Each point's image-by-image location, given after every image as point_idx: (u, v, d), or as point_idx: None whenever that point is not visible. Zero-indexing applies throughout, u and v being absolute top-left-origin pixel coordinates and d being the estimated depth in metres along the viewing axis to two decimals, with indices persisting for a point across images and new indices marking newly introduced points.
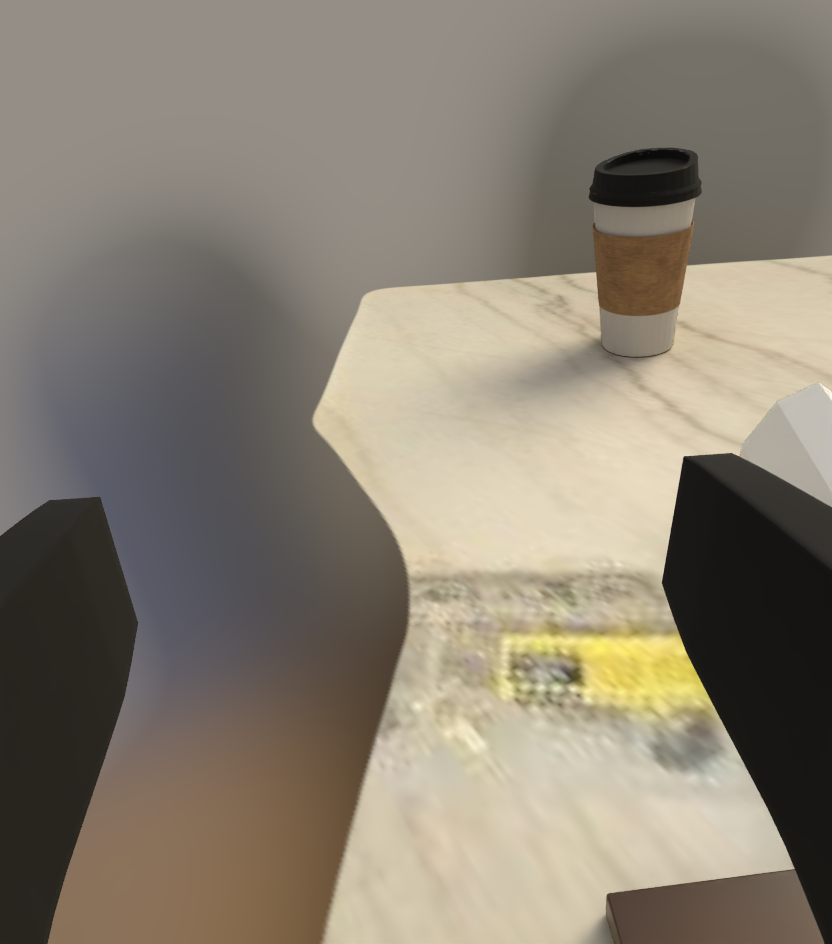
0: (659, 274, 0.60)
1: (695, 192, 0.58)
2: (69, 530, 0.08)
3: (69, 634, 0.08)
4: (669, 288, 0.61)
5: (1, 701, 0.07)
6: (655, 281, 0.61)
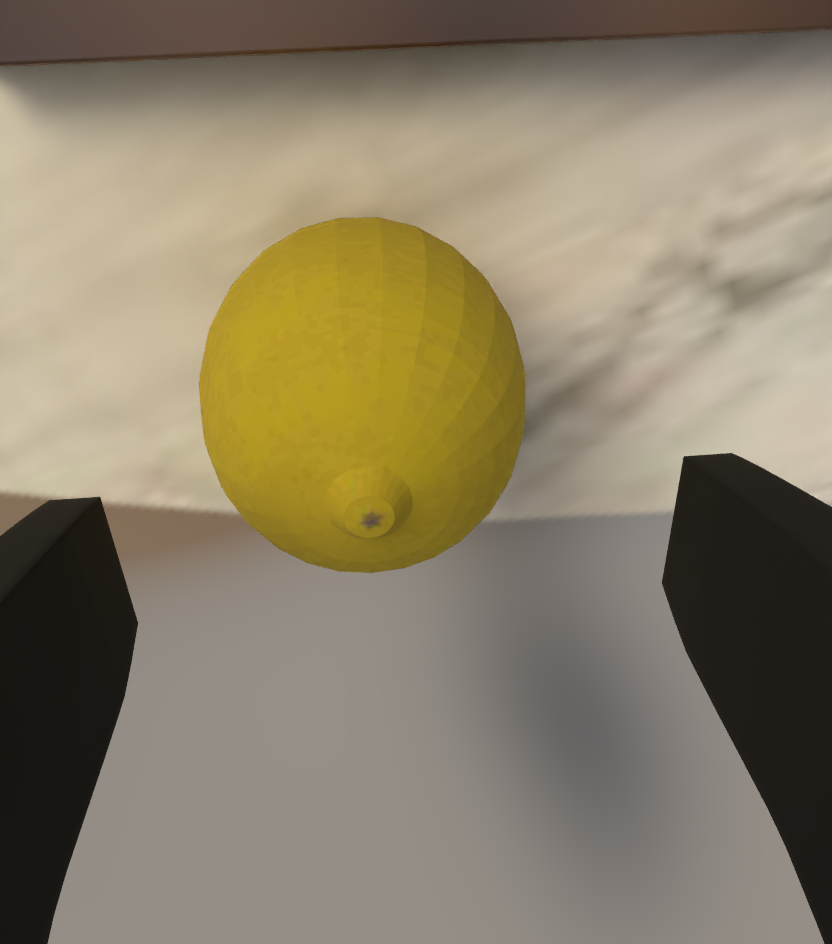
0: None
1: None
2: (69, 530, 0.08)
3: (69, 634, 0.08)
4: None
5: (1, 701, 0.07)
6: None
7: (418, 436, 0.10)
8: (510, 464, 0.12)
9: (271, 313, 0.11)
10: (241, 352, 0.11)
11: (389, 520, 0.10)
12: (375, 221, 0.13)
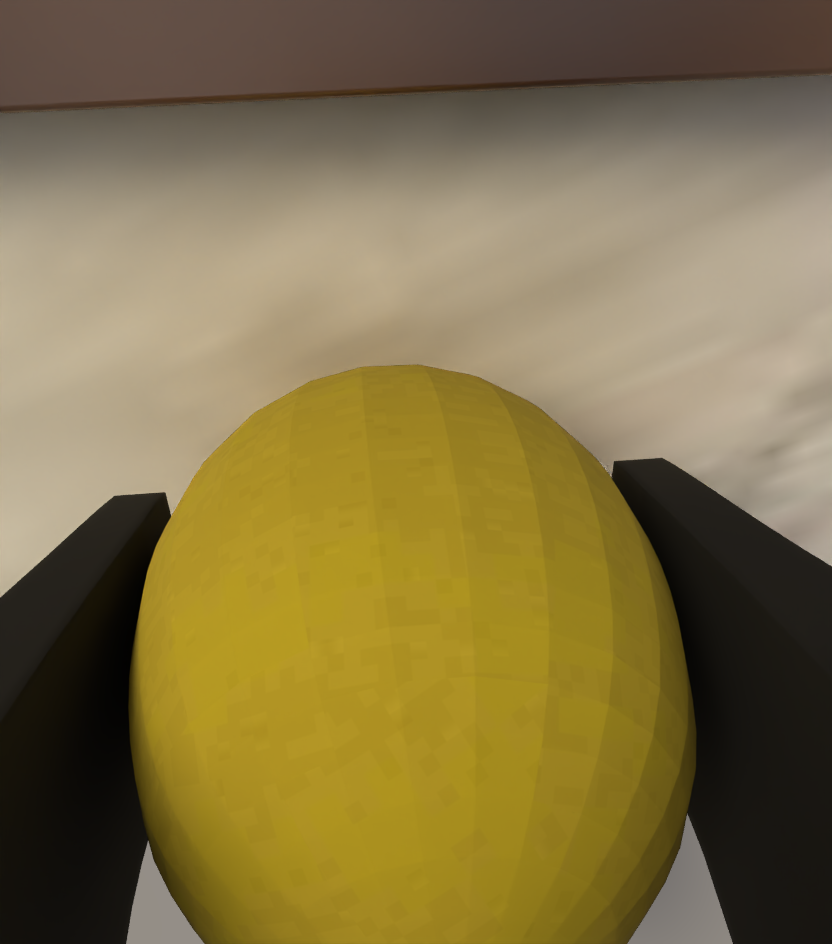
0: None
1: None
2: (141, 525, 0.08)
3: None
4: None
5: (89, 694, 0.07)
6: None
7: (551, 893, 0.05)
8: None
9: (250, 618, 0.06)
10: (196, 694, 0.06)
11: None
12: (428, 391, 0.07)
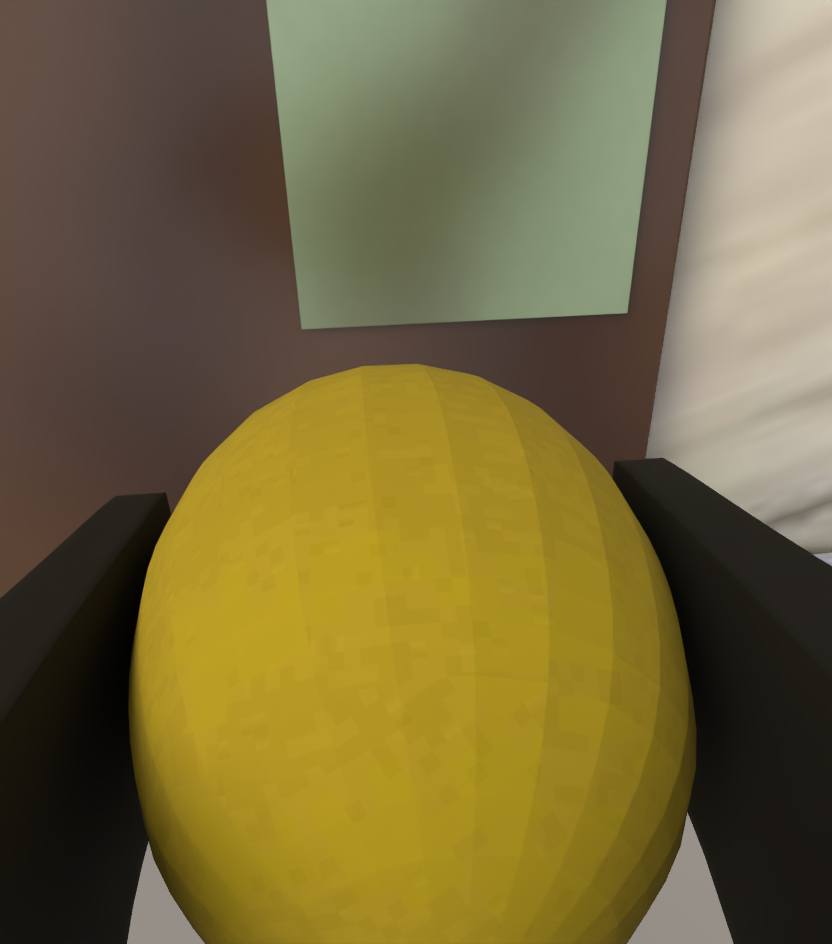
0: None
1: None
2: (142, 525, 0.08)
3: None
4: None
5: (90, 694, 0.07)
6: None
7: (552, 892, 0.05)
8: None
9: (251, 618, 0.06)
10: (196, 693, 0.06)
11: None
12: (428, 390, 0.07)
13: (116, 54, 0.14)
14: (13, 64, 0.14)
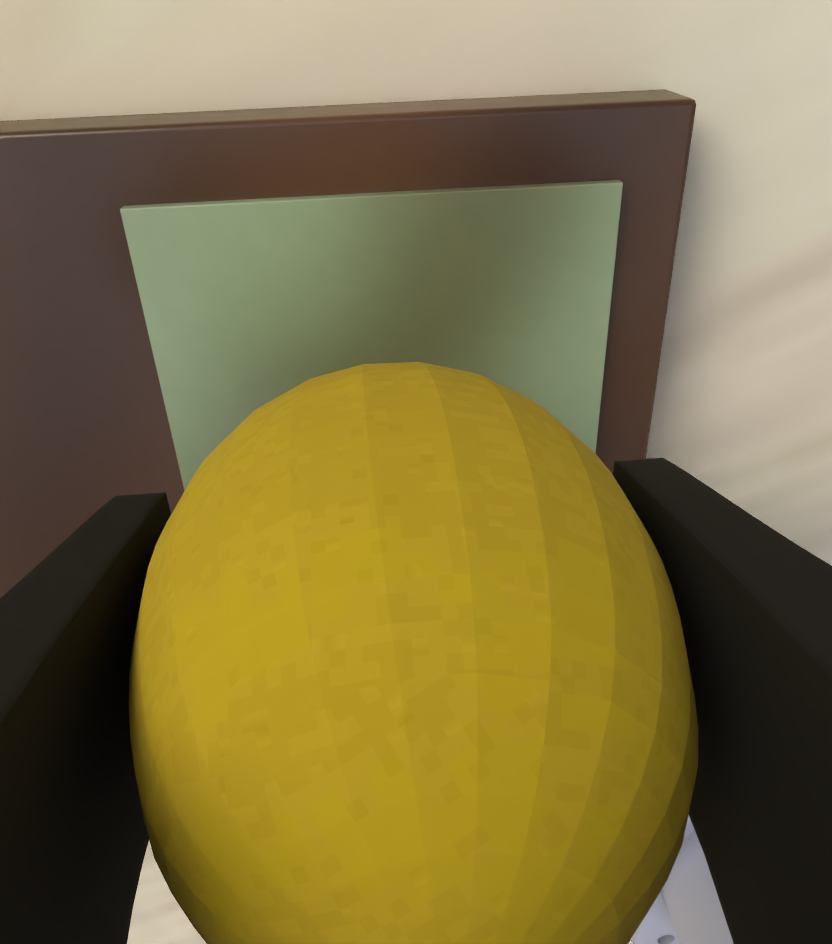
0: None
1: None
2: (142, 525, 0.08)
3: None
4: None
5: (89, 694, 0.07)
6: None
7: (554, 890, 0.05)
8: None
9: (251, 614, 0.06)
10: (197, 690, 0.06)
11: None
12: (429, 388, 0.07)
13: None
14: None
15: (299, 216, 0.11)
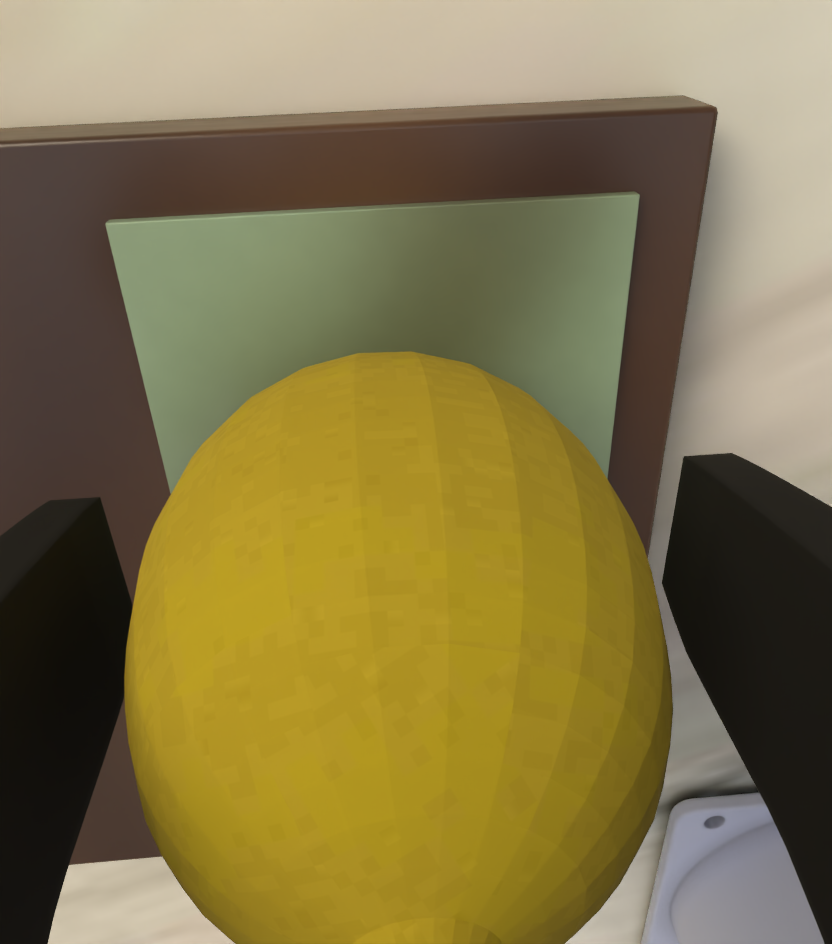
0: None
1: None
2: (69, 530, 0.08)
3: (69, 634, 0.08)
4: None
5: (1, 701, 0.07)
6: None
7: (519, 852, 0.05)
8: None
9: (239, 588, 0.06)
10: (183, 659, 0.06)
11: None
12: (418, 375, 0.08)
13: None
14: None
15: (296, 230, 0.10)
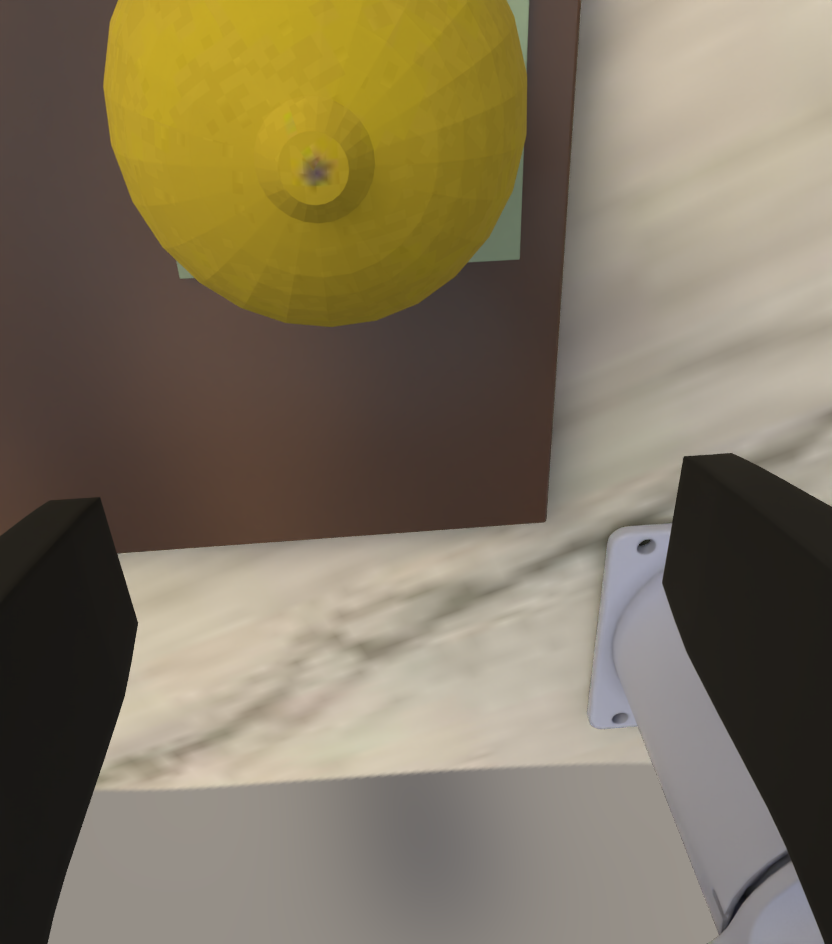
0: None
1: None
2: (69, 530, 0.08)
3: (69, 634, 0.08)
4: None
5: (1, 701, 0.07)
6: None
7: (380, 59, 0.08)
8: (508, 160, 0.09)
9: None
10: None
11: (342, 174, 0.08)
12: None
13: None
14: None
15: None
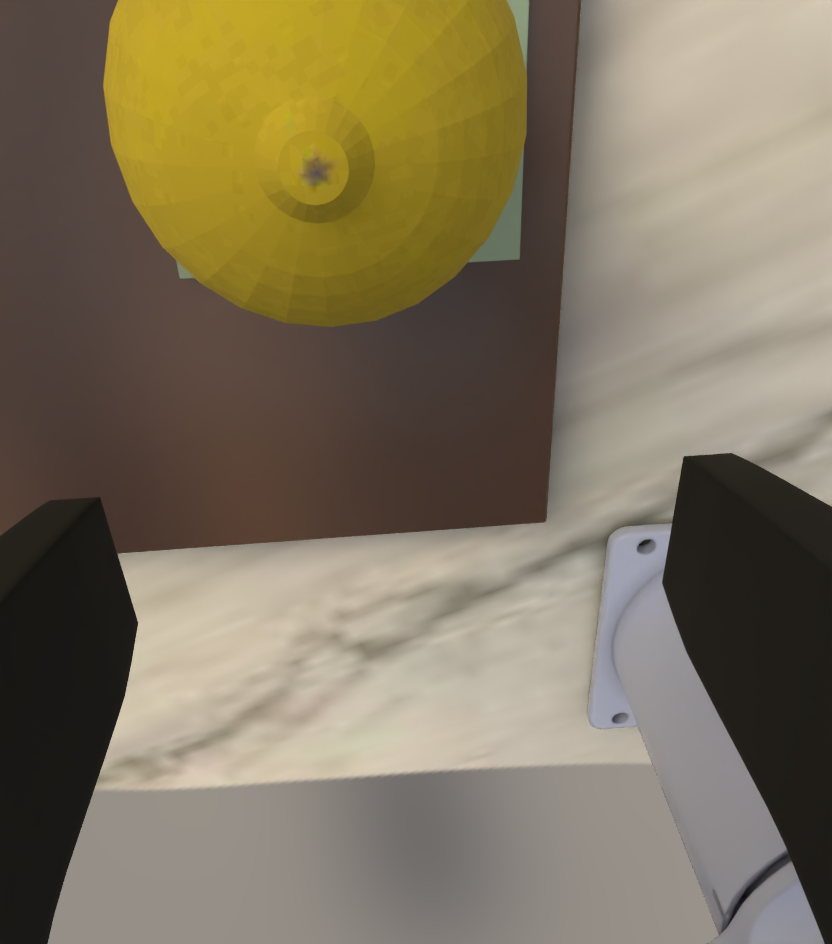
0: None
1: None
2: (69, 530, 0.08)
3: (69, 634, 0.08)
4: None
5: (1, 701, 0.07)
6: None
7: (380, 59, 0.08)
8: (508, 160, 0.09)
9: None
10: None
11: (342, 174, 0.08)
12: None
13: None
14: None
15: None
